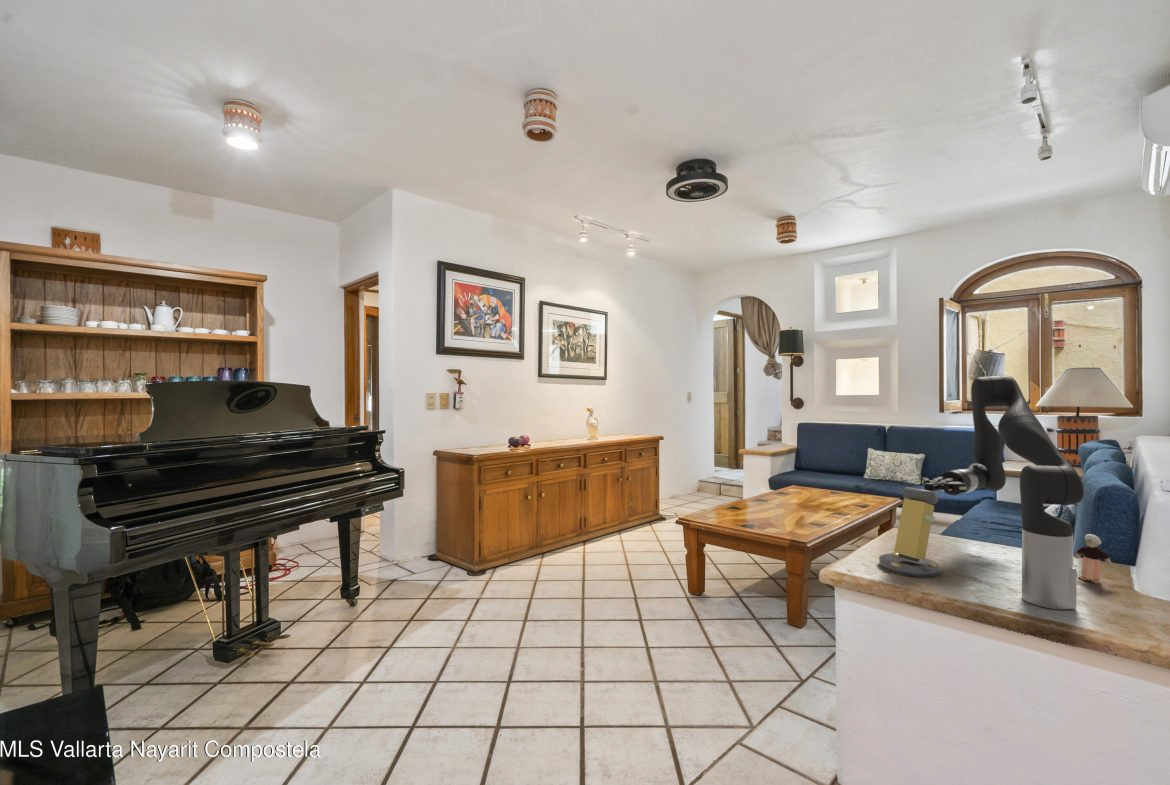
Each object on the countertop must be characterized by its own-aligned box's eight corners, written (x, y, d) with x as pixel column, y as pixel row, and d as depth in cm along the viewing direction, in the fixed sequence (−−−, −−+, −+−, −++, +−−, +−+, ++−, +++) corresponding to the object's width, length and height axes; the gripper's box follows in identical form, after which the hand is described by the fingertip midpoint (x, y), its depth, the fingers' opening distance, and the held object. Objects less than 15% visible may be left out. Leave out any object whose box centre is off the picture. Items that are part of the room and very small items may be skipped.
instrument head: (899, 557, 157) (912, 488, 160) (927, 564, 150) (940, 493, 153) (889, 554, 155) (902, 485, 158) (918, 562, 148) (931, 489, 151)
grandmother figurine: (1071, 578, 145) (1071, 532, 144) (1075, 575, 147) (1075, 530, 147) (1110, 587, 138) (1111, 538, 138) (1113, 583, 141) (1114, 536, 141)
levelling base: (898, 557, 163) (898, 549, 163) (951, 571, 150) (951, 563, 150) (868, 565, 156) (868, 557, 156) (921, 581, 143) (921, 572, 143)
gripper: (936, 466, 171) (905, 471, 163) (982, 473, 160) (951, 478, 151) (935, 489, 172) (904, 495, 163) (982, 497, 160) (951, 504, 152)
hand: (927, 487), depth 157 cm, fingers closed
